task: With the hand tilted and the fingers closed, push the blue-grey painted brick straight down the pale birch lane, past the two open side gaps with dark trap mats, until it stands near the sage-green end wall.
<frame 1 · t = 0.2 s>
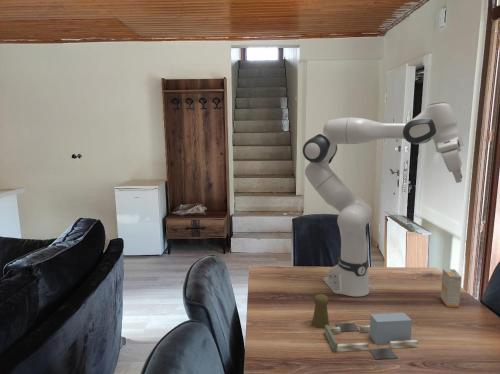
hand: (459, 180, 133), 52 cm above the table, tool tilted 20°, fingers open, 8 cm apart
cork: (320, 324, 133), on the table
supplement box: (449, 303, 148), on the table
lane: (369, 339, 122), on the table
grey brick: (389, 339, 123), on the table
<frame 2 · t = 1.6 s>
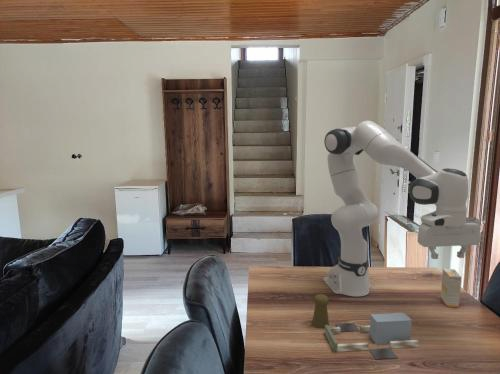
hand: (447, 258, 122), 27 cm above the table, tool pointing down, fingers open, 8 cm apart
nothing on the table moved.
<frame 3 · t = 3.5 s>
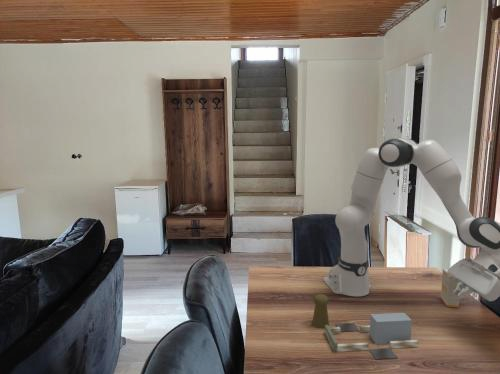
hand: (456, 295, 122), 15 cm above the table, tool tilted 45°, fingers closed
nothing on the table moved.
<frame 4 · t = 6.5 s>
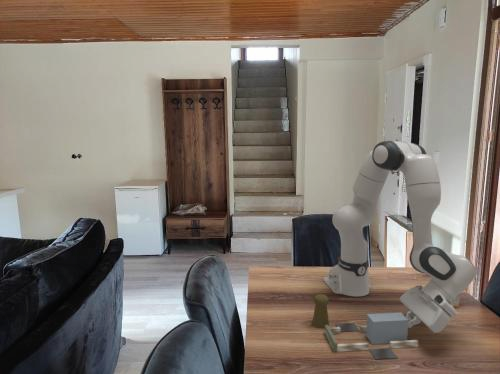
hand: (405, 324, 123), 5 cm above the table, tool tilted 45°, fingers closed, pressing on grey brick
grey brick: (386, 338, 123), on the table, touching gripper
everything else where it was.
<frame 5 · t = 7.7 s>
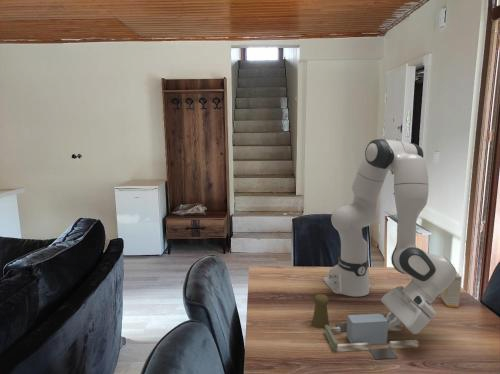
hand: (386, 325, 122), 5 cm above the table, tool tilted 45°, fingers closed, pressing on grey brick
grey brick: (366, 340, 122), on the table, touching gripper
everything else where it was.
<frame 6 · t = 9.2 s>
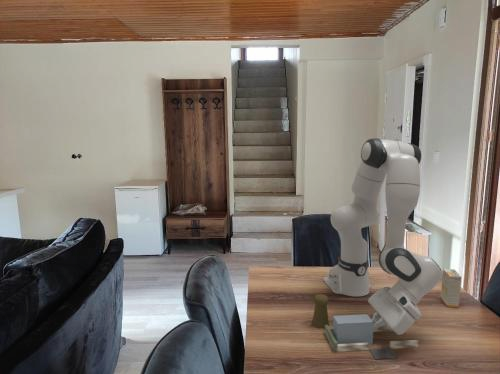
hand: (372, 326, 122), 5 cm above the table, tool tilted 45°, fingers closed, pressing on grey brick
grey brick: (352, 340, 122), on the table, touching gripper
everything else where it was.
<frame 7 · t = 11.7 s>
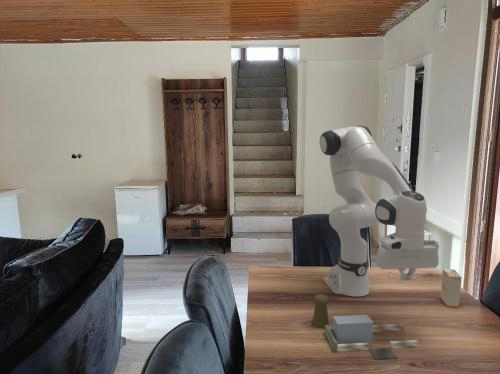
hand: (405, 279, 122), 20 cm above the table, tool pointing down, fingers closed
grey brick: (352, 341, 122), on the table
everything else where it was.
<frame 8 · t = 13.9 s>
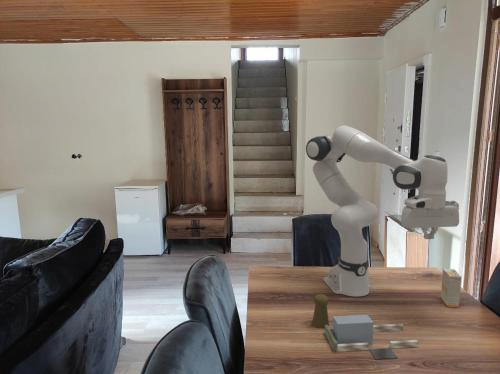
hand: (428, 238, 131), 31 cm above the table, tool pointing down, fingers closed
nothing on the table moved.
at the end: grey brick inside the target area (0.8 cm from its centre), on the table; grey brick tilted 0°; grey brick moved 13.2 cm from its start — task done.
